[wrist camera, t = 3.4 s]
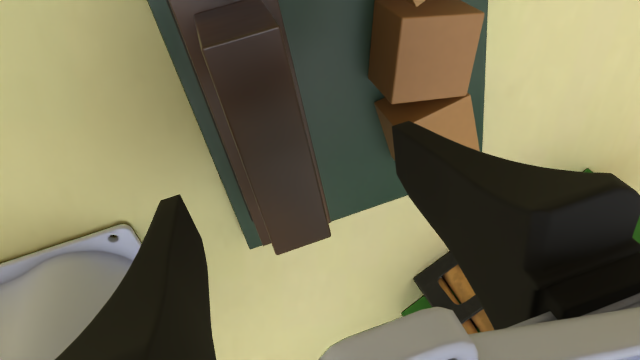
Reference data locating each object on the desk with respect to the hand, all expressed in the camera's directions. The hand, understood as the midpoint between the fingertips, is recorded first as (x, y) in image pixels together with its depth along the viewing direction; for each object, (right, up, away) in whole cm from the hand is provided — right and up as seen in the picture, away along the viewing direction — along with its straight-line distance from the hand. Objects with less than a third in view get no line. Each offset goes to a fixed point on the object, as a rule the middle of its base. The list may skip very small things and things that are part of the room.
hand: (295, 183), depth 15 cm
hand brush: (-2, +4, +6) cm, 8 cm away
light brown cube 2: (+5, +7, +7) cm, 11 cm away
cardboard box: (+6, +4, +10) cm, 12 cm away
